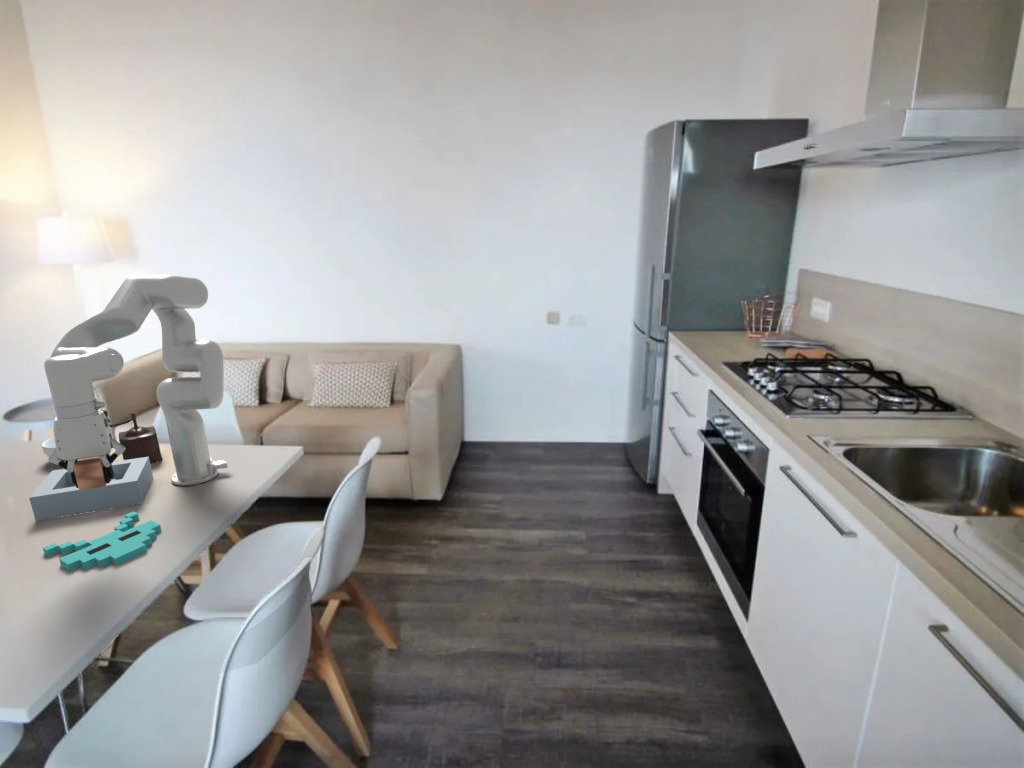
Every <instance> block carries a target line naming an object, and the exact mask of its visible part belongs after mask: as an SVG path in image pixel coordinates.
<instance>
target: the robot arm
mask: <svg viewBox="0 0 1024 768" xmlns="http://www.w3.org/2000/svg"><path fill="white" fill-rule="evenodd" d="M208 299H209V290H208V288H207V285H206V284H205V283H204V282H203V281H202V280H200V279H198V278H196V277H195V278H194V277H187V276H181V275H180V276H179V275H174V274H173V275H172V274H138V275H137V274H135V275H131V276H129V277H127V278H126V279H125V280H124V281H123V282H122V283H121V285H120V287H119V288H118V289H117V290H116V292H115V293H114V295H113V296H112V297H111V299H110V301H109V302H108V303H107V304H106V306H105V307H104V309H103V310H102V311H101V312H99V313H97V314H95V315H92V316H91V317H90V318H88V319H86V320H84V321H83V322H81V323H79V324H77V325H75V326H74V327H72V328H71V329H70V330H69V331H67V332H66V333H65V334H64V335H63V336H62V338H61V339H60V340H59V342H58V343H57V345H56V346H55V347H54V349H53V351H52V352H51V355H50V357H49V358H47V359H46V360H45V361H44V365H43V366H44V367H43V368H44V371H45V377H46V380H47V383H48V387H49V391H50V396H51V399H52V403H53V407H54V410H55V414H56V416H55V417H54V419H53V432H54V433H53V434H54V436H53V437H55V444H56V449H55V450H54V451H53V453H52V454H51V456H50V457H48V459H47V461H48V462H49V463H51V464H53V465H56V466H58V467H60V468H62V469H66V470H67V472H69V473H70V474H71V478H72V482H73V484H76V488H78V484H77V480H76V477H75V473H74V469H73V466H74V465H75V463H76V462H77V461H78V459H84V458H91V457H99V458H100V460H101V462H102V463H103V466H104V467H103V473H104V478H105V482H106V483H110V481H111V479H112V478H113V477H114V472H113V468H112V463H113V462H115V460H116V459H117V458H118V457H119V456H121V455H122V453H123V452H124V451H125V449H126V448H125V447H124V446H123V445H121V444H120V442H119V441H117V440H116V439H114V434H113V432H112V429H111V427H110V426H109V424H110V423H108V421H107V418H106V416H105V414H104V412H103V411H102V410H103V409H101V408H106V407H105V406H106V404H105V402H104V401H98V398H96V395H95V390H94V385H93V383H95V382H99V381H104V380H105V381H106V380H109V379H112V378H115V377H116V376H118V375H119V374H120V373H121V372H122V370H123V368H124V365H125V361H124V358H123V356H122V354H121V353H120V352H119V351H117V350H116V349H114V348H111V347H105V346H104V347H103V346H102V347H101V345H104V344H108V343H110V342H113V341H117V340H121V339H123V338H126V337H129V336H131V335H133V334H135V333H137V332H138V331H139V330H140V328H141V327H142V325H143V324H144V322H145V320H146V318H147V317H148V316H149V314H150V313H151V311H153V312H154V313H155V315H156V317H157V318H158V320H159V322H160V326H161V344H162V345H161V353H162V354H161V355H162V356H161V357H162V365H163V367H164V368H165V369H166V370H167V371H169V372H171V373H199V374H200V376H193V377H192V376H181V377H180V376H175V377H173V376H172V377H168V378H165V379H163V380H162V381H160V383H158V385H157V388H156V399H157V401H158V403H159V404H158V405H159V406H160V408H161V410H162V413H163V416H164V420H165V424H166V427H167V433H168V438H169V443H170V447H171V448H170V449H171V454H172V458H173V464H174V467H175V473H173V475H172V476H171V478H170V480H171V483H172V484H174V485H176V486H182V487H183V486H184V487H185V486H194V485H198V484H203V483H206V482H208V481H210V480H212V479H214V478H215V477H216V476H217V475H218V474H219V469H221V470H222V469H227V468H228V467H229V465H228V462H227V461H224V460H222V459H221V460H217V461H215V460H214V459H213V457H212V456H210V452H209V446H208V445H209V444H208V439H207V435H206V434H207V433H206V427H205V423H204V419H203V417H202V415H201V413H200V412H199V410H214V409H217V408H219V407H220V406H221V405H222V403H223V400H224V395H225V393H224V392H225V388H224V387H225V385H224V383H225V379H224V378H225V376H224V371H225V370H224V354H223V350H222V349H221V346H220V345H219V344H218V343H216V341H214V340H209V339H196V338H197V337H196V324H195V321H194V319H193V317H192V316H191V315H190V313H189V312H188V311H187V310H186V309H192V310H193V309H194V310H195V309H201V308H202V307H204V306H205V305H206V303H207V302H208ZM112 449H114V450H115V451H114V452H113V453H112ZM110 453H112V454H111V455H110Z"/></svg>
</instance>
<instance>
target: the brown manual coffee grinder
mask: <svg viewBox="0 0 1024 768" xmlns="http://www.w3.org/2000/svg"><path fill="white" fill-rule="evenodd" d="M101 410H102V411H103V412H104V414H105V416H106V418H107V421H108V423H109V426H110V428H115V427H118V426H122V425H125V424H128V423H130V422H132V423H133V426H132V427H131V428H129V429H127V430H126V431H121V432H118V442H119V443H120V444H121V445H123V446H124V447H125V448H126V449H125V451H124V452H123V453H122V454H121V455H122V460H129V459H136V458H143V457H149V460H150V463H151V464H153V463H152V462H155V463H157V462H156V461H159V462H162V461H163V456H162V452H161V449H160V448H161V447H160V444H159V439H158V434H157V430H156V428H155V426H154V425H153V426H140V425H139V426H138V422H137V419H138V416H136V414H137V413H136V412H131V413H130V417H131V418H129V419H127V420H124V421H121V422H117V423H114V424H113V423H112V424H110V423H111V420H110V419H109V418H108V417H109V411H108V410H105V409H101ZM161 460H162V461H161Z"/></svg>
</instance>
